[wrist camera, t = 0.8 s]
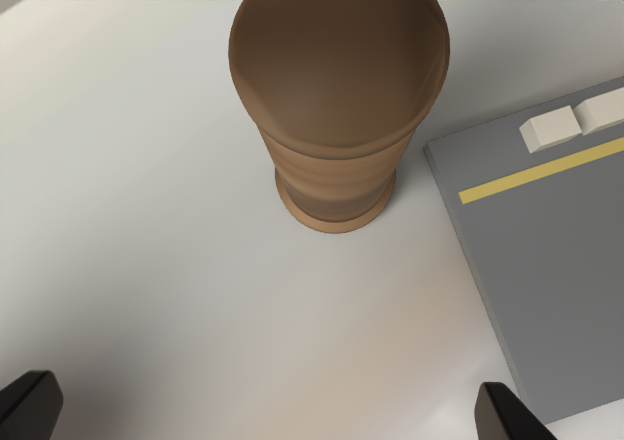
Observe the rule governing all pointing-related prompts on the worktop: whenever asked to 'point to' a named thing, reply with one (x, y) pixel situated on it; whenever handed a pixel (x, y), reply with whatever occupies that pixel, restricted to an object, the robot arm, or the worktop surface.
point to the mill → (338, 96)
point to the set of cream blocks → (574, 121)
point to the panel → (545, 251)
